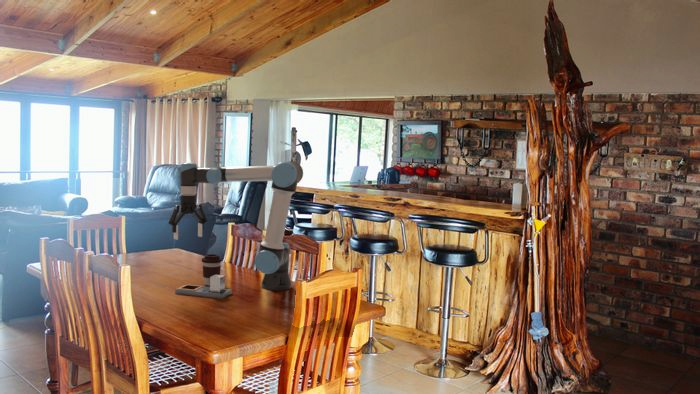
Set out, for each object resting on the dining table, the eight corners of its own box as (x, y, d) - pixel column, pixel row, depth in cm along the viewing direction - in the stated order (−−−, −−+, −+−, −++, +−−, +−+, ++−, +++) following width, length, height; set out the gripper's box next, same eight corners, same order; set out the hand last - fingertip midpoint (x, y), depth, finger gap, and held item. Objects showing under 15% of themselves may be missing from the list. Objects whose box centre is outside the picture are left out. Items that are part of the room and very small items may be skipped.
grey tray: (231, 294, 279) (231, 288, 279) (222, 299, 269) (222, 293, 269) (186, 289, 285) (186, 284, 285) (175, 294, 275) (175, 288, 275)
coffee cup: (216, 287, 291) (217, 257, 290) (197, 286, 293) (198, 256, 292) (224, 283, 301) (225, 254, 300) (206, 281, 303) (207, 252, 302)
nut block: (224, 294, 277) (225, 275, 276) (219, 296, 272) (220, 277, 272) (214, 293, 278) (215, 274, 278) (209, 295, 274) (210, 276, 273)
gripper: (205, 193, 298) (205, 234, 300) (161, 195, 279) (161, 239, 281) (214, 194, 293) (214, 236, 295) (169, 196, 274) (169, 241, 276)
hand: (188, 237), depth 288 cm, fingers open, 13 cm apart
